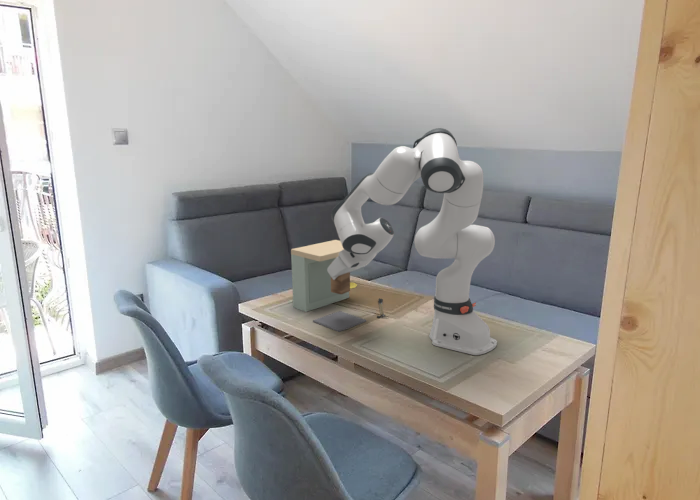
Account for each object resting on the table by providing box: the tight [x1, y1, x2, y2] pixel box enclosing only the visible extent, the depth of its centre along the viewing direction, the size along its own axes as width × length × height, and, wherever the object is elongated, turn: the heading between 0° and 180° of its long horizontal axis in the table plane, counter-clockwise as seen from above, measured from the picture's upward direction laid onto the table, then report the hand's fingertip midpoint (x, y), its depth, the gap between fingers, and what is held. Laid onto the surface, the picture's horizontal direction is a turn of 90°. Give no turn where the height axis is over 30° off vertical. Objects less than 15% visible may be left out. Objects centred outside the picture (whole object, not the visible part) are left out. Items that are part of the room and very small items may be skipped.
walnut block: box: [330, 263, 351, 295], centre depth 182 cm, size 5×5×11 cm
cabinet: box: [290, 239, 350, 313], centre depth 201 cm, size 17×24×24 cm
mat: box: [312, 310, 367, 333], centre depth 185 cm, size 14×14×1 cm
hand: (339, 275), depth 182 cm, fingers closed on walnut block, 5 cm apart
